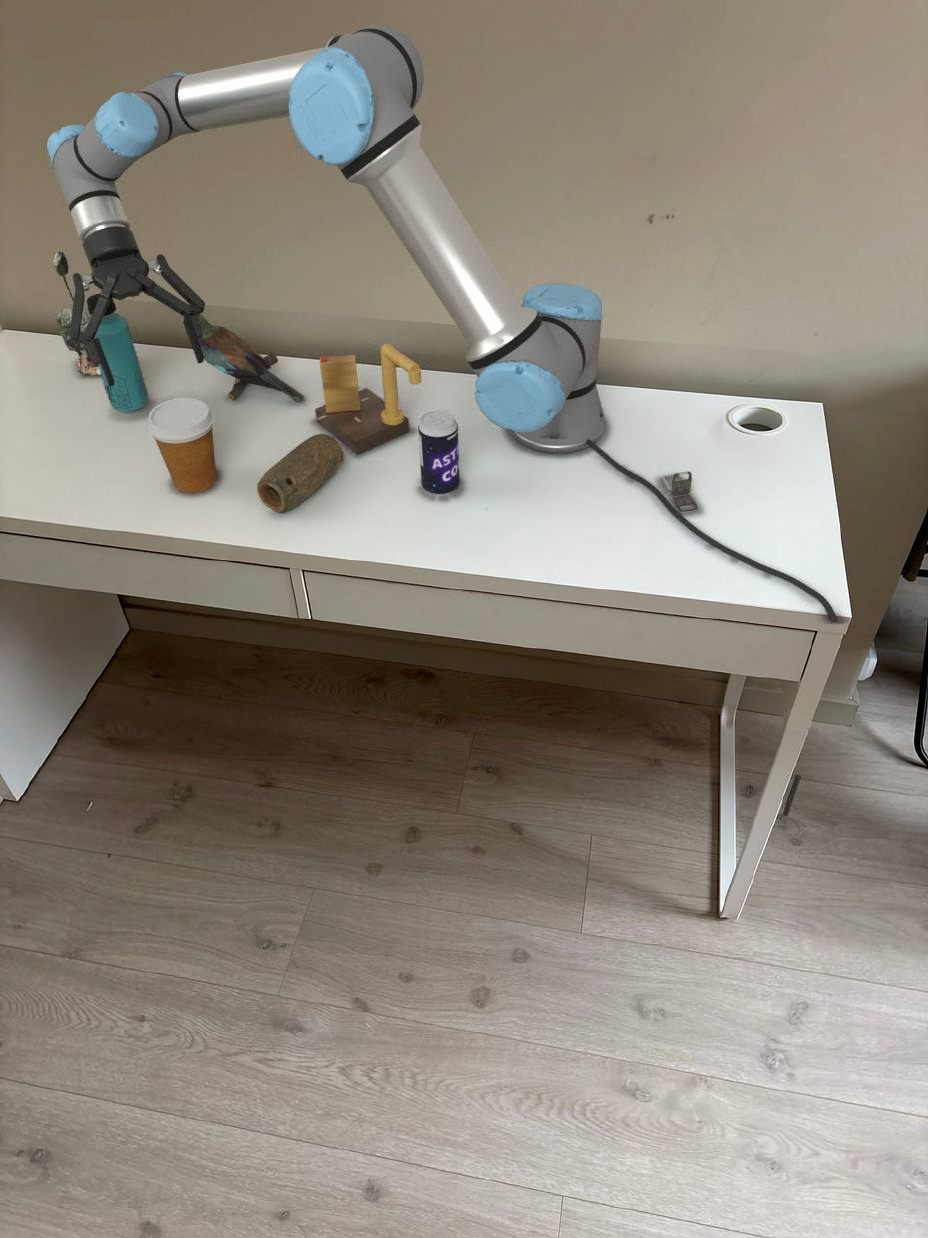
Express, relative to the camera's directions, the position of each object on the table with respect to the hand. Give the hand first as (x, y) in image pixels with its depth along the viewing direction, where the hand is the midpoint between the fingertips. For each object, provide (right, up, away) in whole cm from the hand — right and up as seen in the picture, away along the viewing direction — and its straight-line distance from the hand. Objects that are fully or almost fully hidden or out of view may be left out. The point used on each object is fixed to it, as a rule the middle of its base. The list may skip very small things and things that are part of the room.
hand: (157, 371), depth 152 cm
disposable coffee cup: (+5, -16, +3) cm, 17 cm away
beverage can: (+42, -17, +1) cm, 46 cm away
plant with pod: (-19, +8, +28) cm, 35 cm away
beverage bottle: (-10, -2, +18) cm, 21 cm away
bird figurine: (+10, +2, +22) cm, 25 cm away
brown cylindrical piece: (+22, -18, +1) cm, 28 cm away
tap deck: (+28, -5, +13) cm, 32 cm away
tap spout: (+36, -7, +8) cm, 38 cm away
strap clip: (+78, -19, -2) cm, 80 cm away
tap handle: (+26, -3, +12) cm, 29 cm away
